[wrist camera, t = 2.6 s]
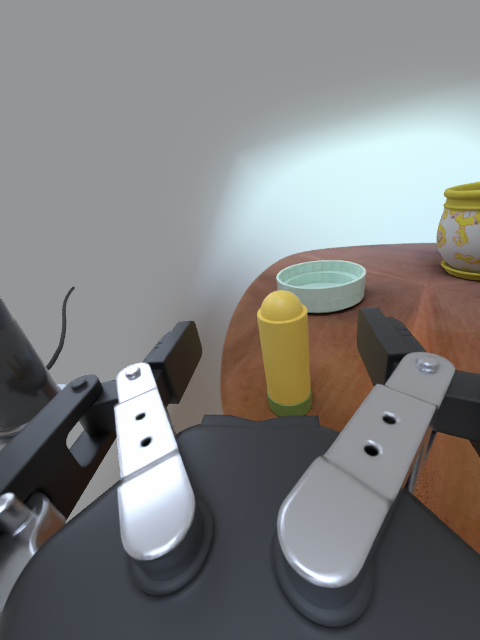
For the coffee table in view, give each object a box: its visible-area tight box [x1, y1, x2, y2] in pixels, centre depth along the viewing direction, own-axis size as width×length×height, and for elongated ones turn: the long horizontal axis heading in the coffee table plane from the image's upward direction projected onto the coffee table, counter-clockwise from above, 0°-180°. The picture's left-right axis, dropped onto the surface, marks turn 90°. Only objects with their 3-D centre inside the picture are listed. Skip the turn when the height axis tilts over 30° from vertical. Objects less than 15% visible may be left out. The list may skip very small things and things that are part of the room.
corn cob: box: [257, 290, 312, 417], centre depth 27 cm, size 5×5×14 cm
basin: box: [276, 260, 366, 313], centre depth 53 cm, size 17×17×6 cm
